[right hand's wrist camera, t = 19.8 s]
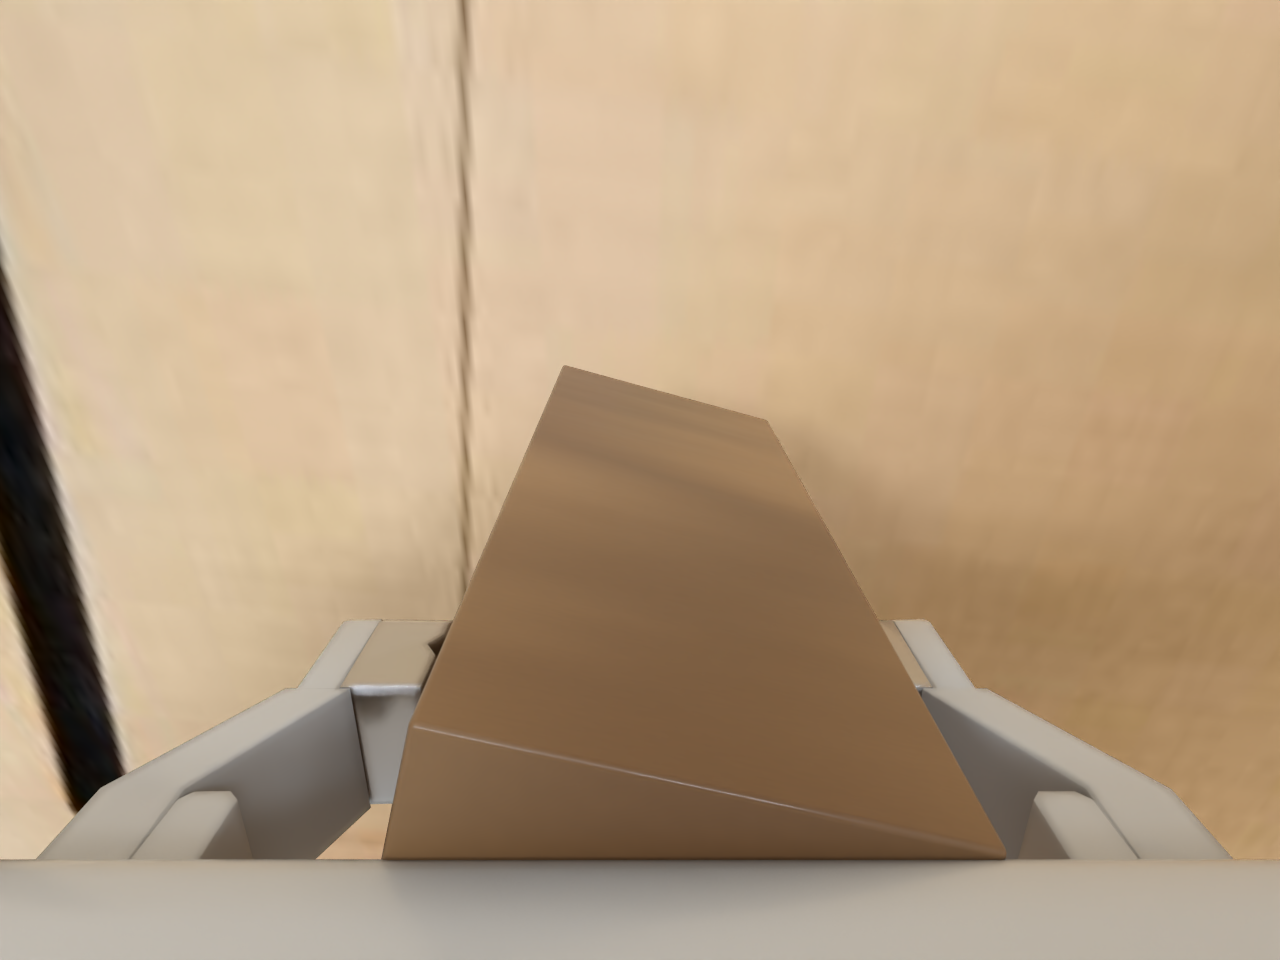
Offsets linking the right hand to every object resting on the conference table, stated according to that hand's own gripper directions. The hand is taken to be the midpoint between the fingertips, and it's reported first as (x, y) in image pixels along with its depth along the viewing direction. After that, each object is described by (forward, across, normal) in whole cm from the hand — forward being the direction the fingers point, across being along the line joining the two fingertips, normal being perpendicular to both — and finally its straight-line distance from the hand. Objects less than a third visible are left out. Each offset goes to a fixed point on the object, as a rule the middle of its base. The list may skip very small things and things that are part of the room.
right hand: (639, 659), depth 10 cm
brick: (+6, 0, 0) cm, 6 cm away
